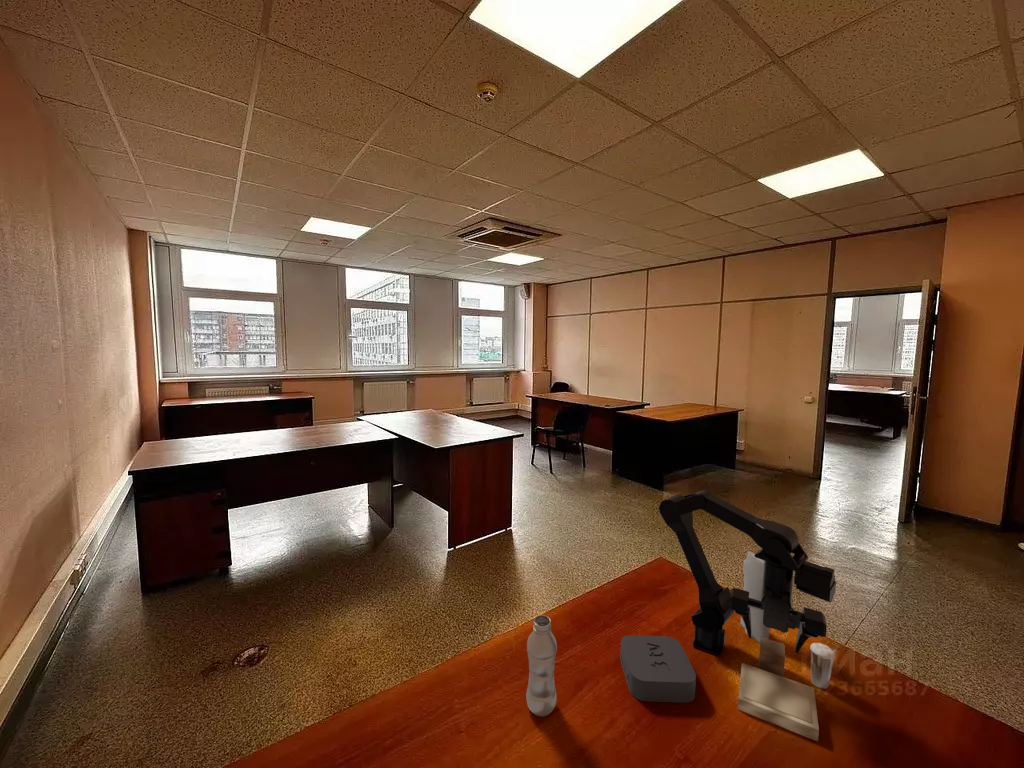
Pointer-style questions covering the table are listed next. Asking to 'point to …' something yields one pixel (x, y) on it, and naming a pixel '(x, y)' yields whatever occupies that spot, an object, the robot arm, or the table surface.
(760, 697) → the base
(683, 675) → the streaming box
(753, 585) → the grey ridged slab
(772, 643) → the walnut block
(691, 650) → the table surface
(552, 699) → the plastic bottle
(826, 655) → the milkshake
